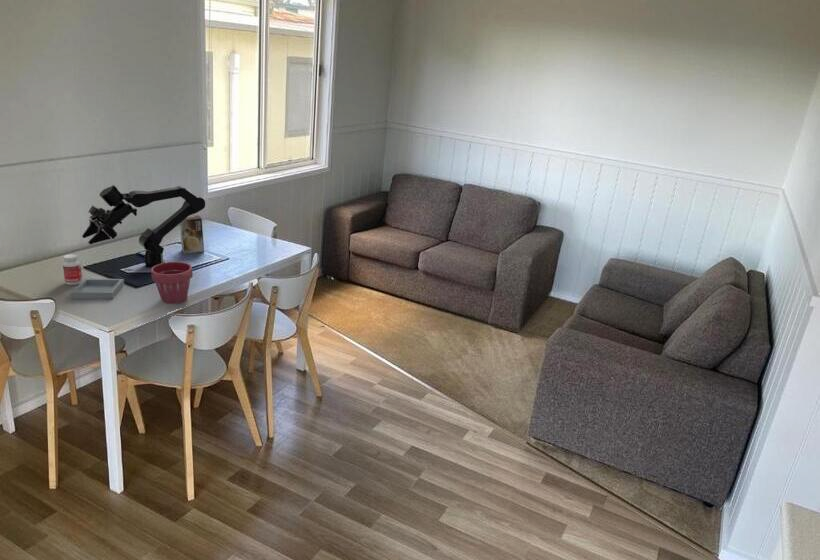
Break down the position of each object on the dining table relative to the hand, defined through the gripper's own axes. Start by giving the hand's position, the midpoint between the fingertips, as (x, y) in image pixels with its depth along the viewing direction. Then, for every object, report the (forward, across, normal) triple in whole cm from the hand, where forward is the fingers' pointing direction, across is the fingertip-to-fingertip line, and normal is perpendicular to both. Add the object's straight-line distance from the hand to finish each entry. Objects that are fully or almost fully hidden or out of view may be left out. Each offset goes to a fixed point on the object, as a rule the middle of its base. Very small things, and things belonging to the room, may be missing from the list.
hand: (85, 240), depth 245 cm
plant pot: (-7, +40, +23) cm, 47 cm away
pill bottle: (+15, +5, +8) cm, 18 cm away
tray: (+10, +19, +11) cm, 24 cm away
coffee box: (-29, -11, +39) cm, 50 cm away
